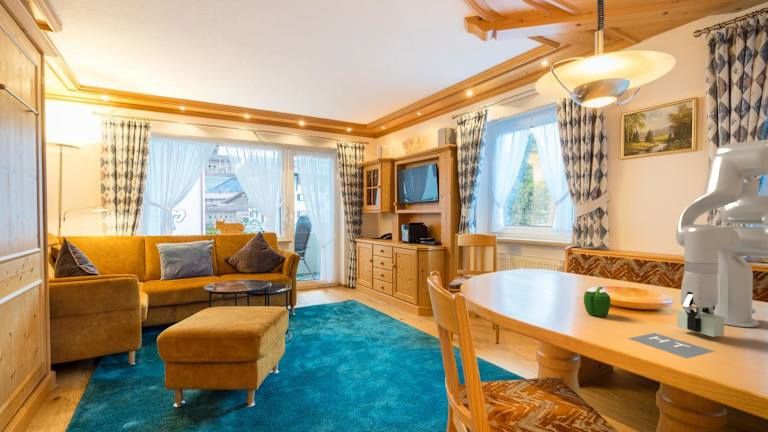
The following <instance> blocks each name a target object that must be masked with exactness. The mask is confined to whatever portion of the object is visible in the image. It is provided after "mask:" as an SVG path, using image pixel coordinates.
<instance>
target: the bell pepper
mask: <svg viewBox="0 0 768 432" xmlns="http://www.w3.org/2000/svg"><path fill="white" fill-rule="evenodd" d="M602 289H603V286H601V285H598V287H597V288H596V291H595V290H594V291H587V290H586V291H584V296H583V305H584V308H585V311H586V313H587V314H588V315H590V316H593V317H594V316H597V317H601V318H602V317H603V318H604V317H607V316H608V314H609V311H610V308H611V300H612V299H611V297H610V294H608V293H607V292H600V290H602Z"/></svg>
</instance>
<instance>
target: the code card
mask: <svg viewBox="0 0 768 432" xmlns="http://www.w3.org/2000/svg"><path fill="white" fill-rule="evenodd" d="M627 339H628V340H631V341H634V342H636V343H640V344H642V345H646V346H649V347H652V348H655V349H658V350H660V351H664V352H667V353H670V354H672V355H675V356H679V357H682V358H685V359H690V358H694V357H698V356H703V355H704V354H705V355H706V354H709V353H713V352H715V350H713V349H709V348H706V347H702V346H699V345H697V344H692V343H689V342H686V341H683V340H681V339H680V340H679V339H676V338H673V337H670V336H666V335H663V334H659V333H655V332H653V333H647V334H644V335H638V336H632V337H628V338H627Z"/></svg>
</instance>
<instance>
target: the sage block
mask: <svg viewBox="0 0 768 432" xmlns="http://www.w3.org/2000/svg"><path fill="white" fill-rule="evenodd" d="M693 310H694V311H695V312H696V309H693ZM699 318H700V319H701V332H696V331H692V330H688V329H687V315H686V311H685V310H684V309H681V310H677V328H678V329H679V328H680V329H684V330H687V331H691V332H695V333H698V334H702V335H706V336H709V337H714V338H715V337H718V336H723V335H725V324H724V317H721V316H717V315H712V314H708V313H703V312H700V317H699Z"/></svg>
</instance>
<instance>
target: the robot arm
mask: <svg viewBox="0 0 768 432" xmlns="http://www.w3.org/2000/svg"><path fill="white" fill-rule="evenodd" d="M758 176H768V139H761V140H760V139H759V140H753V141H743V142H736V143H735V142H734V143H729V144H723V145H721V146H719V147H717V148H716V149H715V150H714V153H713V157H712V158H711V160H710V164H709V168H708V172H707V177H706V180H705V185H704V189H703V193H702V194H701V195H700V196H699V197H697V198H696V199H694V200H692V202H690V203H689V204H688V205H687V206H686V207H685V208H684V209H683V210H682V212H681V214H680V216H679V219H678V223H677V227H676V231H675V239H676V242H677V244H678V245H679V246H681V247H682V248H684V259H683V260H684V263H683V264H684V269H683V271H684V273H683V276H682V281H681V288H680V305H682V308H683V309H682V310H685V311H686V315H687V329H688V330H687V329H686V330H687V331H690V330H692V331H691V332H694V331H696V332H695V333H698V332H701V319H700V318H699V317H700V312H703V313H708V314H712V315H717V316H721V317H724V325H728V326H733V327H738V328H739V327H741V328H756V327H759V326H760V322H759V321H758V320H757V319H754V318H753V315H754V314H755V313H756V312H757V311H756V309H755V308H753V287H754V286H753V284H754V283H753V281H754V278H753V277H754V273H753V268H752V266H751V265H750V264H749V262H748V261H746V259H745V258H744V257H750V258H751V257H752V258H763V259H768V194H761V195H760V194H759V191H760V182H759V180H758V179H757V178H756V177H758ZM719 208H720V209H719ZM715 209H719V213H720V214H719V215H720V219H721V220H722V221H723V222H725V223H728V224H732V225H718V224H717V225H716V224H695V221H696V220H697V219H698V218H699V217H701V216H702V215H704V214H705V213H708V212H711V211H713V210H715ZM733 224H736V225H737V226H735V225H733ZM738 225H741V226H738ZM742 225H762V226H742ZM763 226H765V227H763ZM694 310H695V311H696V312H695V311H694Z"/></svg>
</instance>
